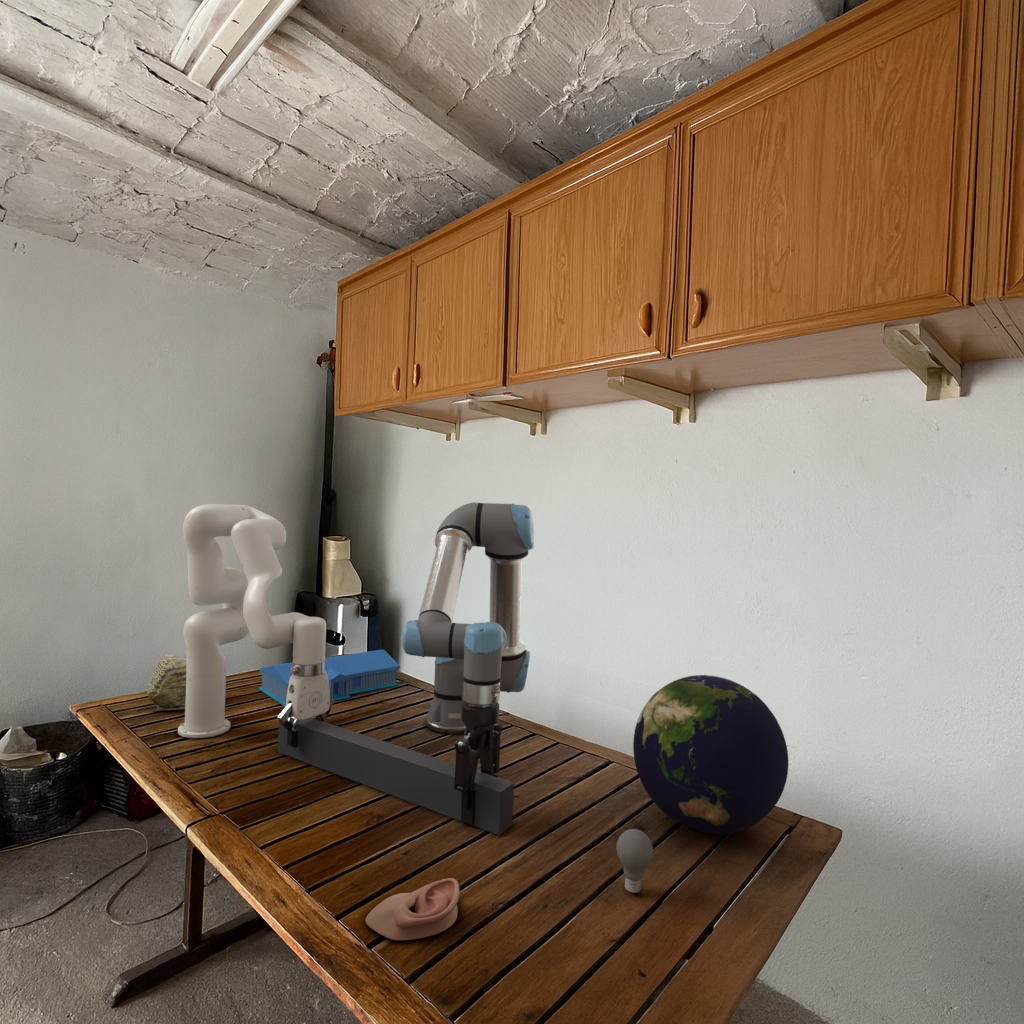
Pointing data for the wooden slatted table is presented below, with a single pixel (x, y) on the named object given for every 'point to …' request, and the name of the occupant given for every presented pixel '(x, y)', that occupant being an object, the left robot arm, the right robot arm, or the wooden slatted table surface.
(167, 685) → the fossil
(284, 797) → the wooden slatted table surface
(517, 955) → the wooden slatted table surface
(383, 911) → the anatomical model
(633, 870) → the light bulb
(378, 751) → the post
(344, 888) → the wooden slatted table surface
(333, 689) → the model building
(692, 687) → the globe
